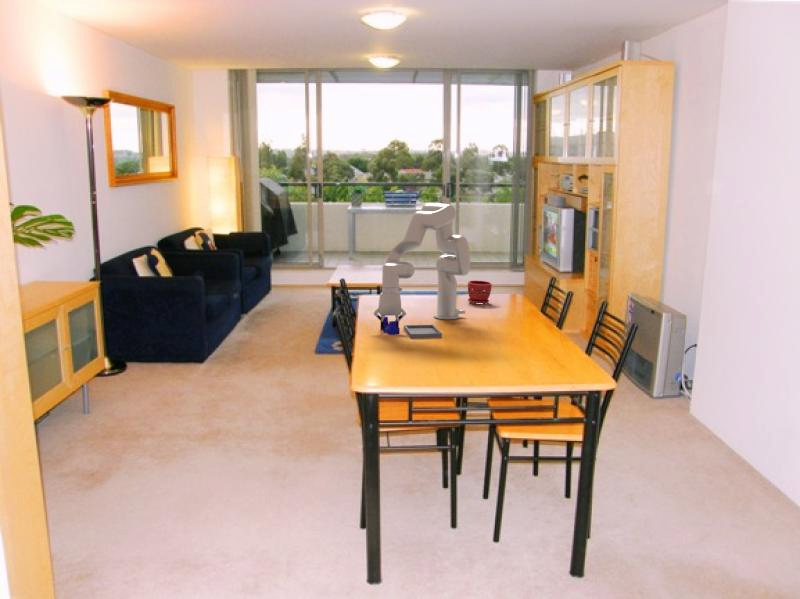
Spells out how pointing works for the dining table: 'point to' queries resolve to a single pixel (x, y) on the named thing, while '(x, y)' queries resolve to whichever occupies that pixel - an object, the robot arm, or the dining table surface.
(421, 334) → the shallow rectangular tray
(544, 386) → the dining table surface
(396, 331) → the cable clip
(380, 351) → the dining table surface
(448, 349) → the dining table surface
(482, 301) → the plant pot
